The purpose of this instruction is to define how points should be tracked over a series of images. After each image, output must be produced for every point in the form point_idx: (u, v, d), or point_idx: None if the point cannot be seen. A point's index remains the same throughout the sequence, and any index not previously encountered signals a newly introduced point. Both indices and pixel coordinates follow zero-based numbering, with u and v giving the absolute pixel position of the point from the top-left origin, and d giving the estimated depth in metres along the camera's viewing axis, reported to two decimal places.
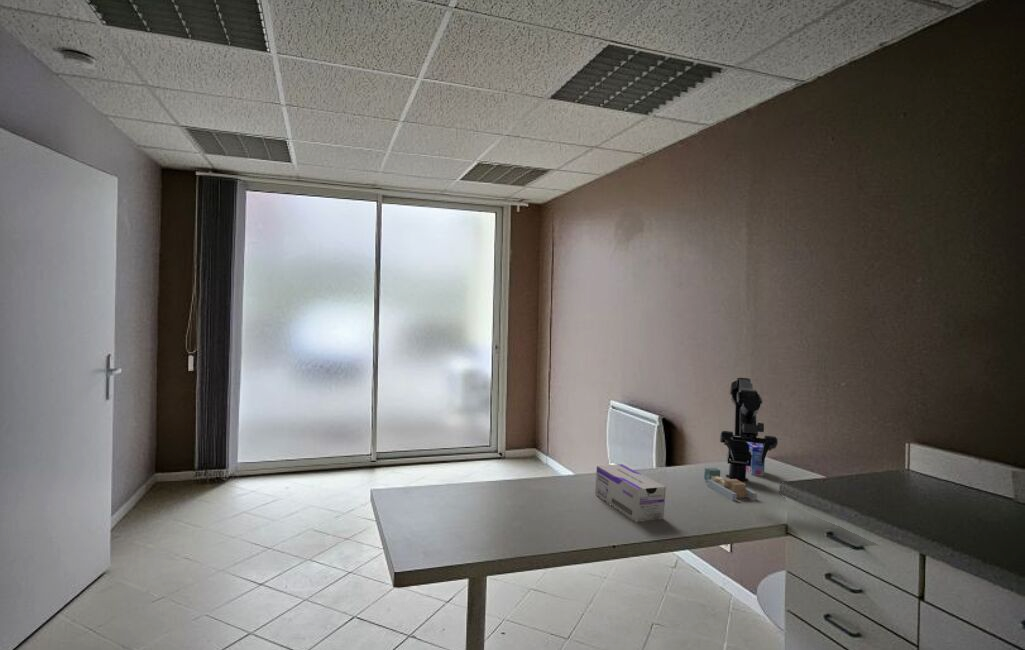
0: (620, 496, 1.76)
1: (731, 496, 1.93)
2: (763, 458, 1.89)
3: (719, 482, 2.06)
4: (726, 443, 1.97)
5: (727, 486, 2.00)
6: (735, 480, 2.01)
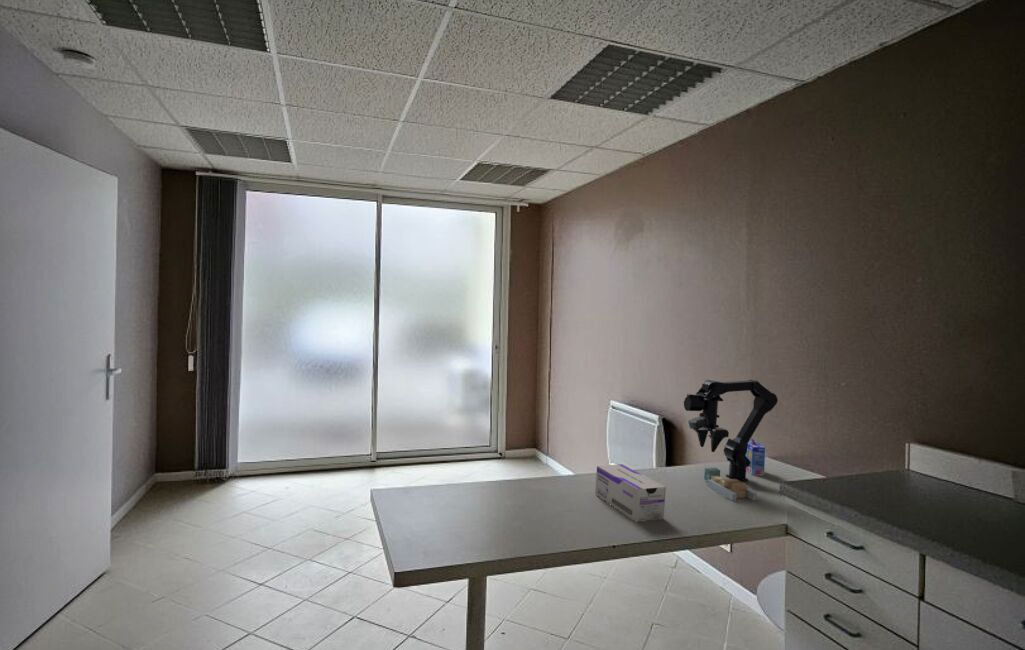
0: (620, 496, 1.76)
1: (731, 496, 1.93)
2: (711, 447, 2.13)
3: (719, 482, 2.06)
4: None
5: (727, 486, 2.00)
6: (735, 480, 2.01)
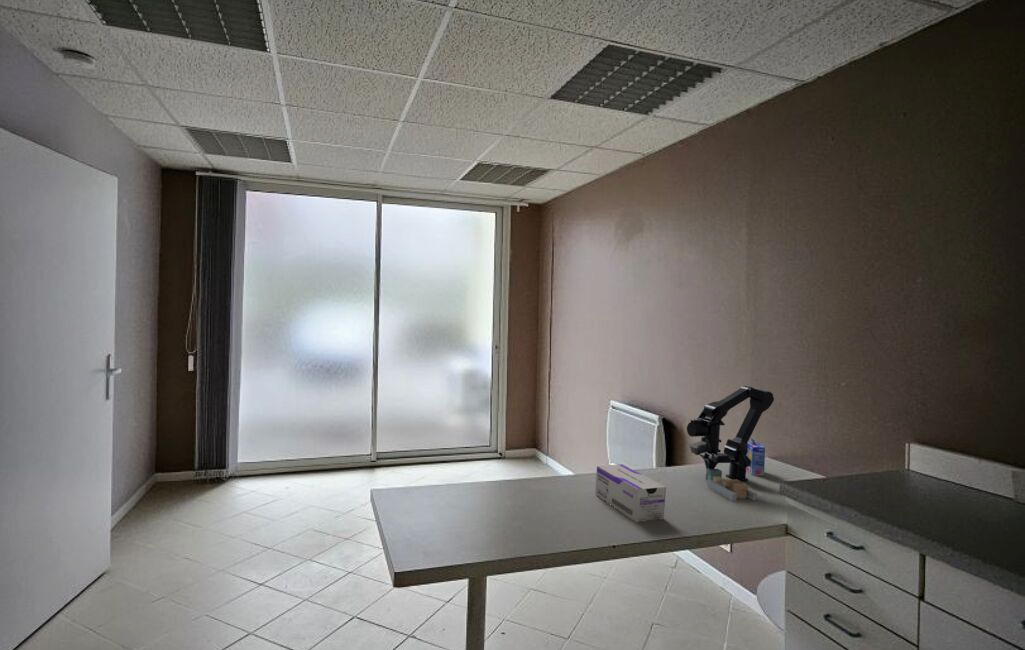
0: (620, 496, 1.76)
1: (731, 496, 1.93)
2: None
3: (721, 483, 2.05)
4: None
5: (728, 486, 1.99)
6: (736, 480, 2.01)
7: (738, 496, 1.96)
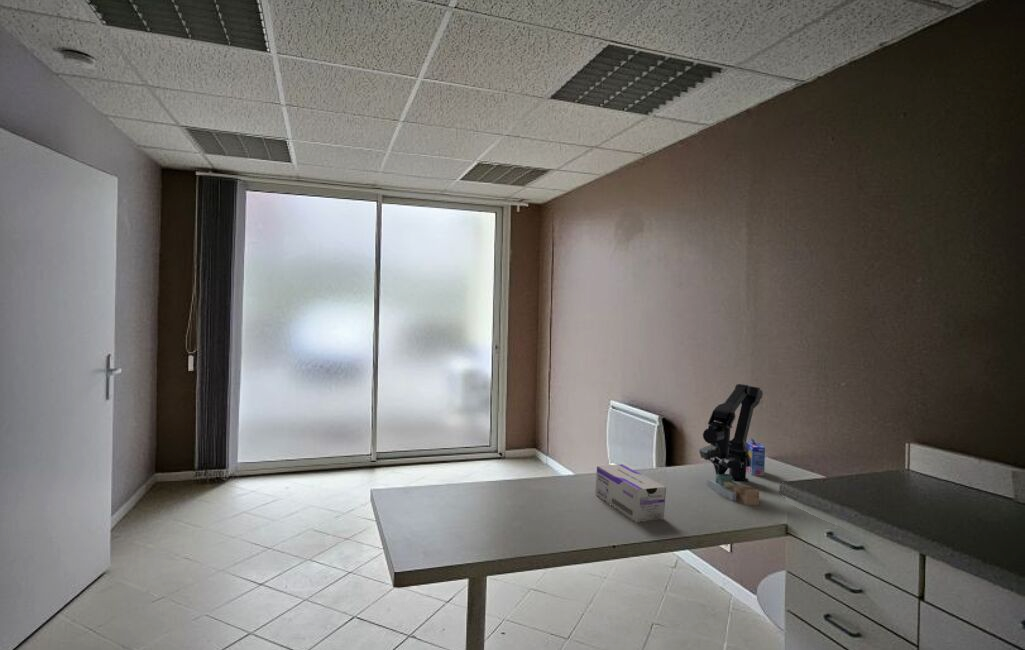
0: (621, 496, 1.76)
1: (731, 496, 1.93)
2: None
3: (731, 489, 1.99)
4: None
5: (739, 493, 1.93)
6: (748, 486, 1.94)
7: (750, 503, 1.89)
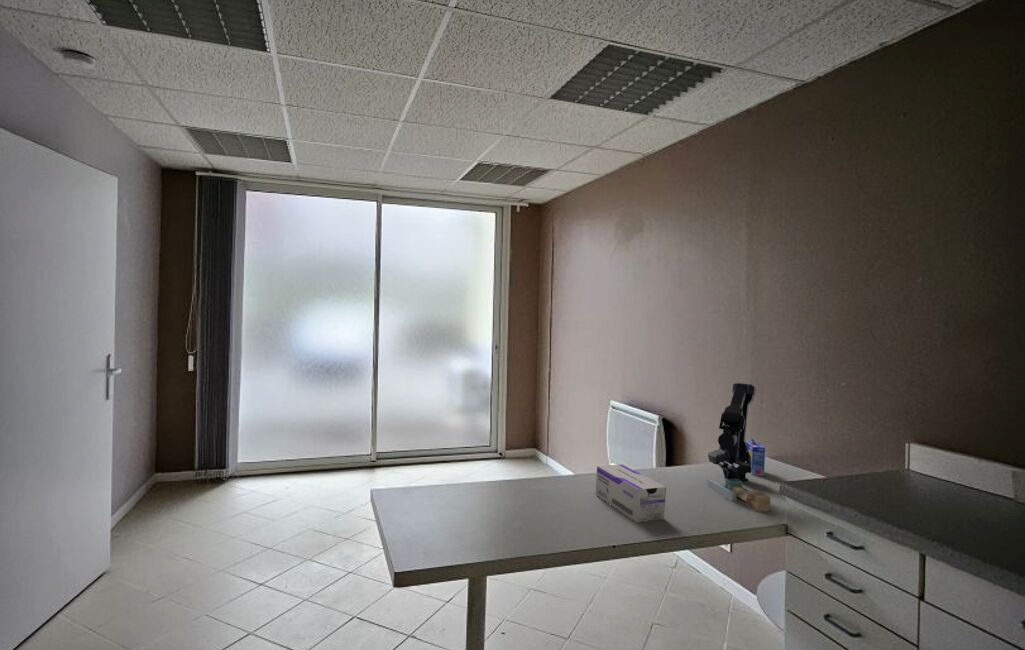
0: (621, 496, 1.76)
1: (731, 496, 1.93)
2: None
3: (741, 494, 1.93)
4: None
5: (750, 498, 1.87)
6: (758, 492, 1.88)
7: (761, 509, 1.84)
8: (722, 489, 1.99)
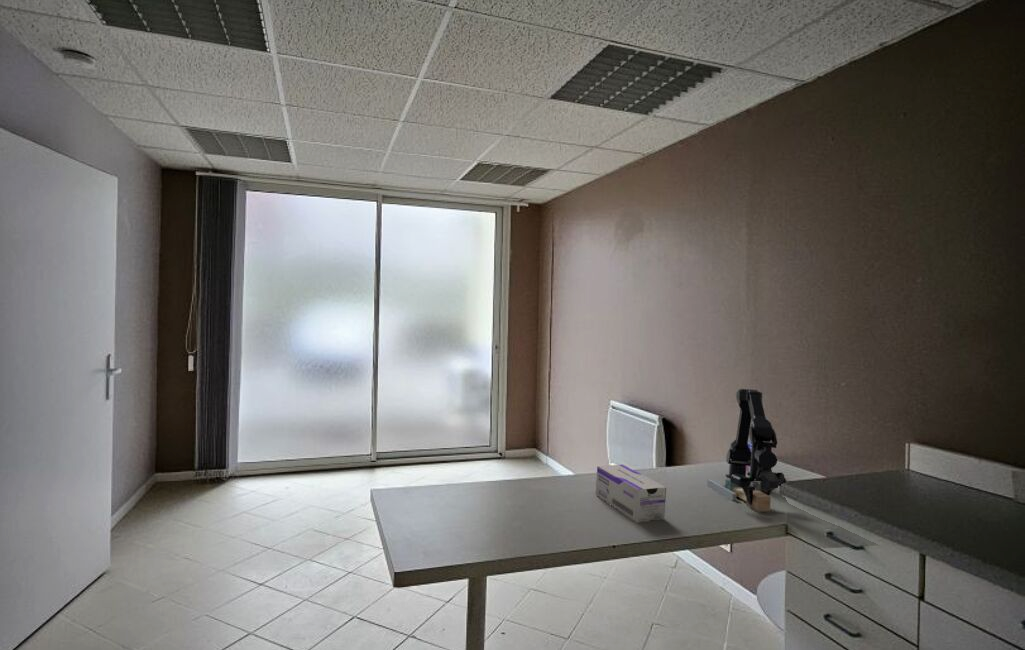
0: (621, 497, 1.76)
1: (731, 496, 1.93)
2: None
3: (741, 494, 1.93)
4: None
5: None
6: (758, 492, 1.88)
7: (761, 509, 1.84)
8: (722, 489, 1.99)
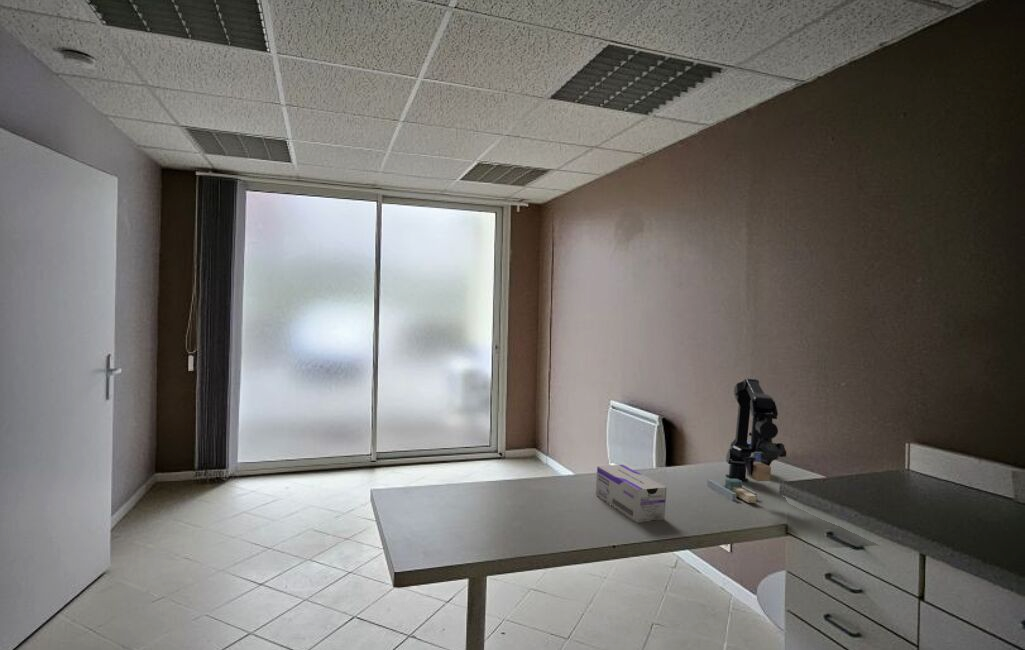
0: (621, 497, 1.76)
1: (731, 496, 1.93)
2: None
3: (741, 494, 1.93)
4: None
5: None
6: (759, 463, 1.92)
7: (761, 479, 1.87)
8: (722, 489, 1.99)
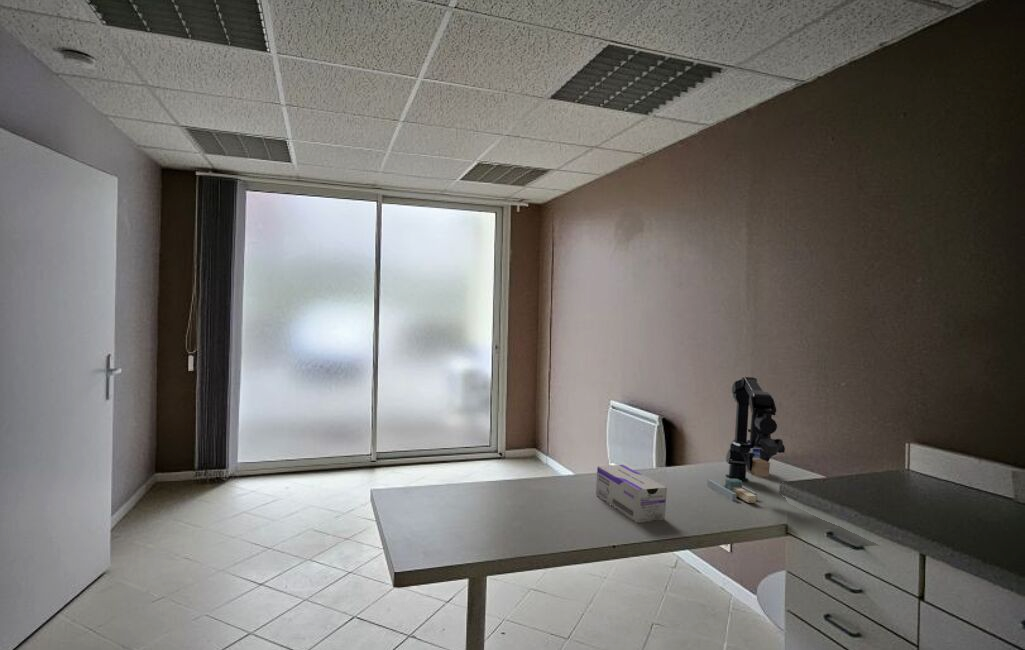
0: (621, 497, 1.76)
1: (731, 496, 1.93)
2: None
3: (741, 494, 1.93)
4: None
5: None
6: (758, 459, 1.95)
7: (760, 474, 1.91)
8: (722, 489, 1.99)
